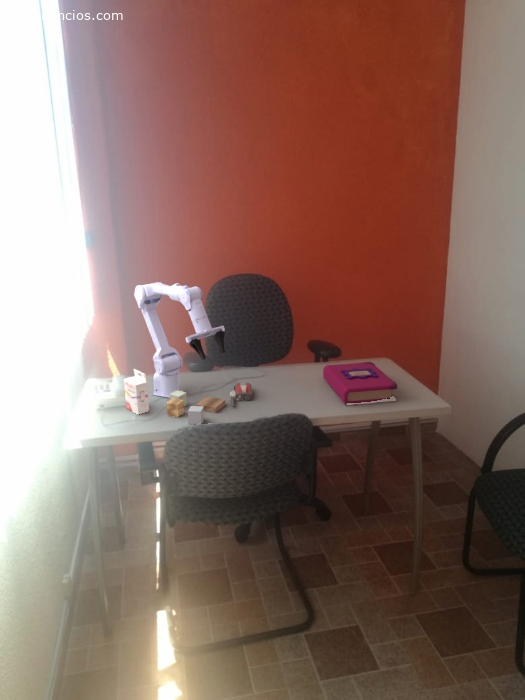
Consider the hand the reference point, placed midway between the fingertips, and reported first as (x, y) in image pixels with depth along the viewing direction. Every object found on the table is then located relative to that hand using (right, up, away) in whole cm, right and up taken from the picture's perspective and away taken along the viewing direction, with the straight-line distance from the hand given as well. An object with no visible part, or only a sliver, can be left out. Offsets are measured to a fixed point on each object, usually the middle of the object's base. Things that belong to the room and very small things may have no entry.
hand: (213, 356), depth 194 cm
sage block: (-14, -19, +13) cm, 27 cm away
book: (+55, -14, +26) cm, 63 cm away
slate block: (-6, -23, 0) cm, 24 cm away
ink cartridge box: (-29, -20, +9) cm, 36 cm away
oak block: (-14, -21, +6) cm, 26 cm away
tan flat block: (-2, -20, +11) cm, 23 cm away
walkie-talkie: (+9, -17, +20) cm, 27 cm away
